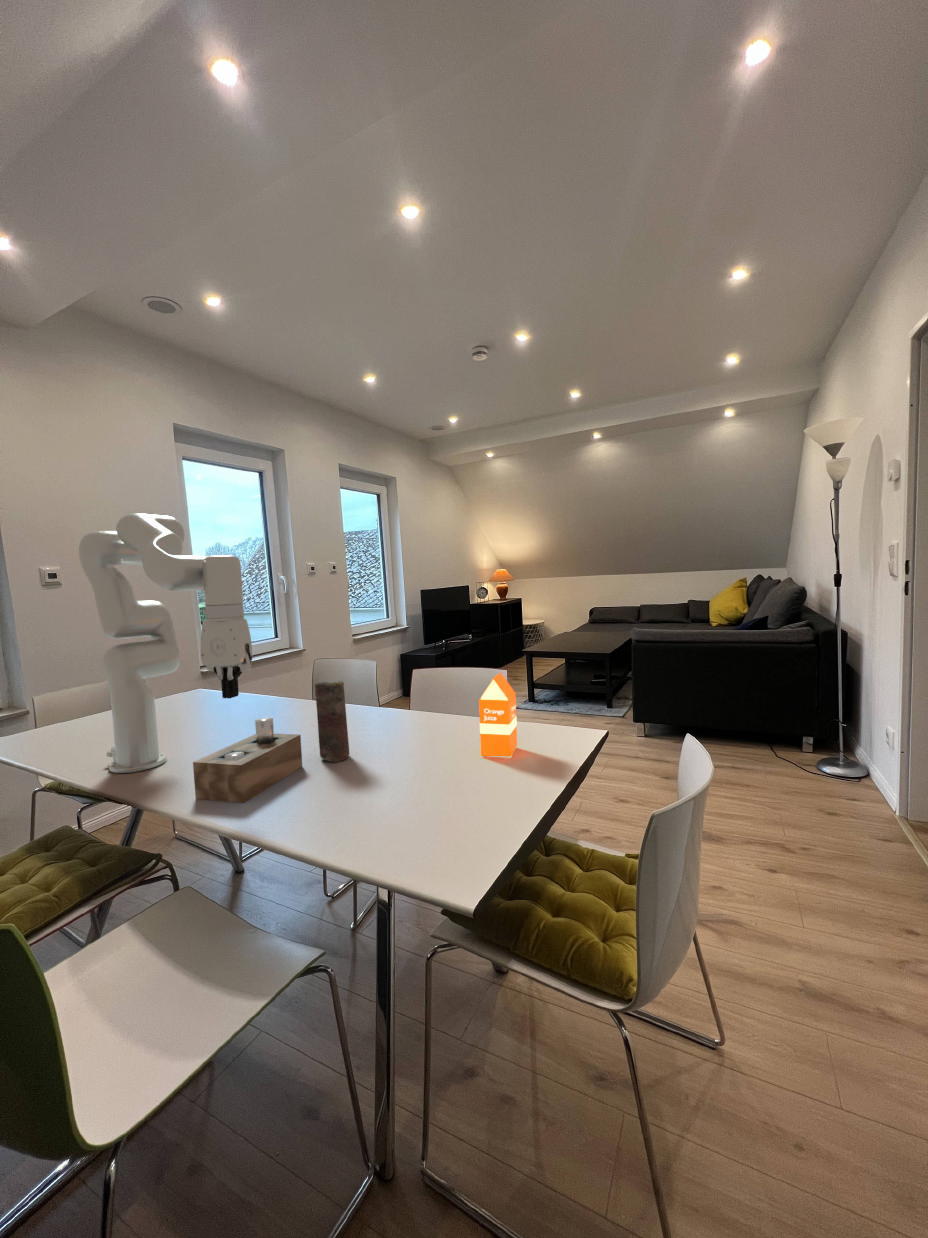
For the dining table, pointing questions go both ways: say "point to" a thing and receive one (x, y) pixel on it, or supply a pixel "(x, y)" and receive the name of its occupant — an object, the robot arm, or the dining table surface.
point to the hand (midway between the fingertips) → (230, 696)
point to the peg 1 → (234, 755)
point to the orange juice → (498, 719)
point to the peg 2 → (264, 730)
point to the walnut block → (246, 768)
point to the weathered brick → (332, 721)
